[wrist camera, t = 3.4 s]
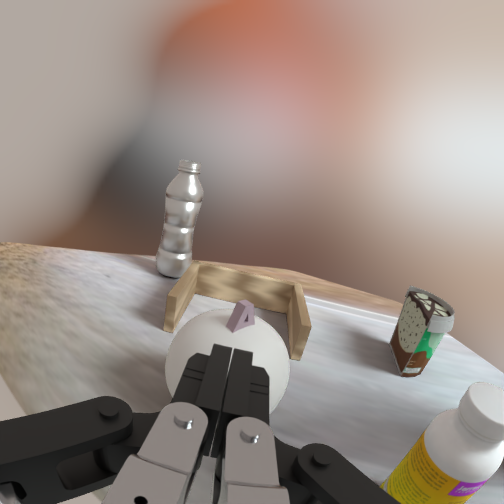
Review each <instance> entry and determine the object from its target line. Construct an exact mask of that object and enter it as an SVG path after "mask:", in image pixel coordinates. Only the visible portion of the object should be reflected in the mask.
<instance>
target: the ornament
mask: <svg viewBox="0 0 504 504" xmlns="http://www.w3.org/2000/svg"><path fill="white" fill-rule="evenodd" d="M214 343H215V344H219V345H223V346H227V347H232V353H231V358H232V354H233V350H234V348H236V349H241V350H245V351H250V352H253V360H252V365H253V366H258V367H263V368H265V370H266V372H267V373H268V375H269V377H270V386H269V388H270V390H269V414H270V413H271V412H272V411H273V410H274V409H275V408H276V407H277V405H278V404H279V402H280V401H281V399H282V397H283V395H284V393H285V390H286V387H287V384H288V380H289V374H290V361H289V355H288V351H287V348H286V346H285V343H284V341H283V340H282V338H281V336H280V335H279V334H278V333H277V331H276V330H275V329H274V328H273V327H272V326H271V325H269V324H268V323H267V322H265V321H264V320H262V319H261V318H259V317H257V316H255V315H254V304H252V303H251V302H249V301H247V300H241V301H238V302H237V304H236V306H235V308H234V309H218V310H212V311H208V312H205V313H202V314H200V315H198V316H196V317H194V318H193V319H191V320H190V321H188V322H187V323H186V324H185V325H184V326H183V327H182V328H181V329H180V331H179V332H178V333H177V335H176V336H175V338H174V339H173V341H172V343H171V345H170V348H169V350H168V353H167V357H166V363H165V377H166V382H167V386H168V389H169V392H170V394H171V396H172V398H173V396H174V393H175V391H176V388H177V386H178V383H179V381H180V378H181V376H182V373H183V371H184V369H185V366H186V363H187V361H188V359H189V358H190V357H191V356H193V355H194V354H196V353H201V354H205V355H209V356H210V354H211V351H212V347H213V344H214ZM231 358H230V363H231ZM230 363H229V367H230ZM228 371H229V368H228ZM227 375H228V373H227ZM226 379H227V378H226ZM217 422H218V421H217ZM216 427H217V425H216Z"/></svg>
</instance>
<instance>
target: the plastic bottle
mask: <svg viewBox="0 0 504 504" xmlns="http://www.w3.org/2000/svg"><path fill="white" fill-rule="evenodd" d="M200 168H201V163H198V162H193V161H187V160H180V163H179V168H178V170H179V174H178V175H177V176H176V177H175V178H174V179H173V180H172V181H171V183H170V184H169V185H168V188H167V190H166V207H165V208H166V209H165V223H164V229H163V233H162V238H161V242H160V246H159V249H158V252H157V256H156V267H157V269H158V271H159V272H160V273H161V274H163V275H165V276H169V277H181V276H182V275H183V274H184V273H185V271H186V270H187V269H188V267H189V266H190V265H191V263H192V240H193V232H194V226H195V223H196V219H197V215H198V212H199V209H200V206H201V202H202V200H203V189H202V186H201V183H200V181H199V179H198V174H200Z"/></svg>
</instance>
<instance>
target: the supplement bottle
mask: <svg viewBox="0 0 504 504" xmlns="http://www.w3.org/2000/svg"><path fill="white" fill-rule="evenodd" d="M503 457H504V390H503V389H501V388H499V387H497V386H495V385H492V384H489V383H484V382H477V383H474V384H472V385H471V386H470V387H469V388H468V390H467V391H466V393H465V394H464V396H463V397H462V399H461V400H460V404H459V407H458V408H456V409H450V410H446V411H444V412H442V413H440V414H439V415H437V416H436V417H435V418H434V419H433V420H432V421H431V423H430V424H429V425H428V427H427V428H426V430H425V431H424V432H423V434H422V435H421V437H420V438H419V439H418V441H417V442H416V443H415V445H414V446H413V447H412V449H411V450H410V451H409V453H408V454H407V455H406V456H405V458H404V459H403V460H402V461H401V463H400V464H399V465H398V466H397V467H396V469H395V470H394V471H393V472H392V473H391V474H390V476H389V477H388V478H387V479H386V480H385V481H384V482H383V483H382V485H381V486H380V488H382V489H383V490H384V491H386V492H387V493H388V494H389V495H391V496H392V497H393V498H395V499H396V500H397V501H399V502H400V503H401V504H464V503H465V502H466V501H467V500H468V499H469V498H470V497H471V496H472V495H473V494H474V493H475V492H476V491H478V489H479V488H480V487H481V486H482V485H483V484H484V483H485V482H486V481H487V480H488V479H489V478H490V477H491V476H492V475H493V474H494V473H495V472H496V471H497V469H498V468H499V467H500V465H501V463H502V460H503Z"/></svg>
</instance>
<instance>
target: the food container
mask: <svg viewBox="0 0 504 504" xmlns="http://www.w3.org/2000/svg"><path fill="white" fill-rule="evenodd" d="M405 297H406V299H405V302H404V305H403V308H402V311H401V314H400V316H399V319H398V322H397V325H396V327H395V330H394V333H393V335H392V338H391V341H390V343H389V345H390V348H391V351H392V353H393V356H394V359H395V362H396V365H397V368H398V371H399V374H400V376H401V377H415V376H417V375H420V374H421V372H422V371H423V369H424V368H425V366H426V364H427V363H428V361H429V360H430V358H431V356H432V355H433V353H434V351H435V349H436V348H437V346H438V344H439V343H440V341H441V339H442V337H443V335H444V334H445V333H446V332H449V331H450V330H451V329H452V327H453V322H454V310H453V308H452V307H451V306H450V305H449V304H448V303H447V302H445V301H444V300H442V299H441V298H439V297H437V296H435V295H434V294H431V293H429V292H427V291H424V290H422V289H420V288H416V287H413V286H410V287H409V289H408V291H407V293H406V295H405Z"/></svg>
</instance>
